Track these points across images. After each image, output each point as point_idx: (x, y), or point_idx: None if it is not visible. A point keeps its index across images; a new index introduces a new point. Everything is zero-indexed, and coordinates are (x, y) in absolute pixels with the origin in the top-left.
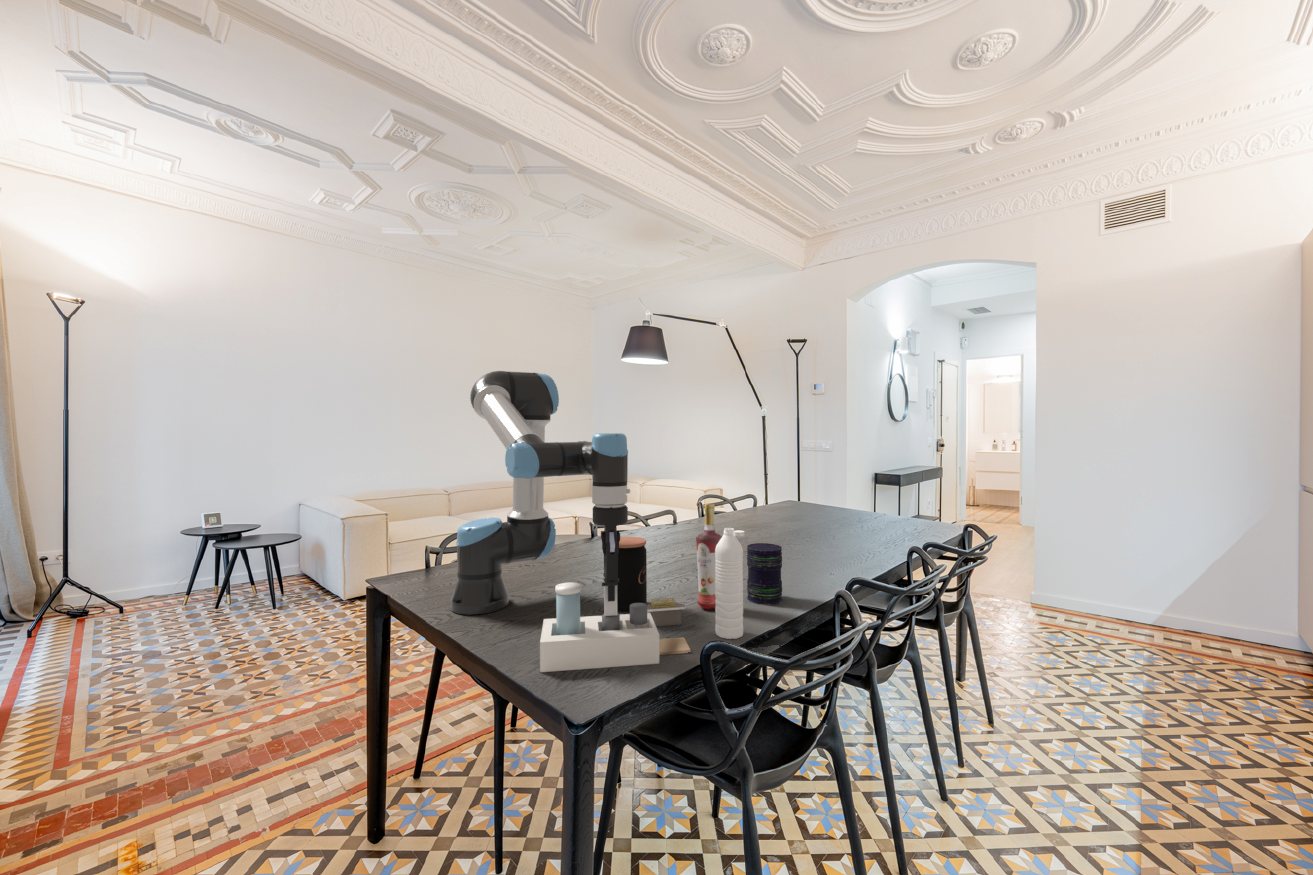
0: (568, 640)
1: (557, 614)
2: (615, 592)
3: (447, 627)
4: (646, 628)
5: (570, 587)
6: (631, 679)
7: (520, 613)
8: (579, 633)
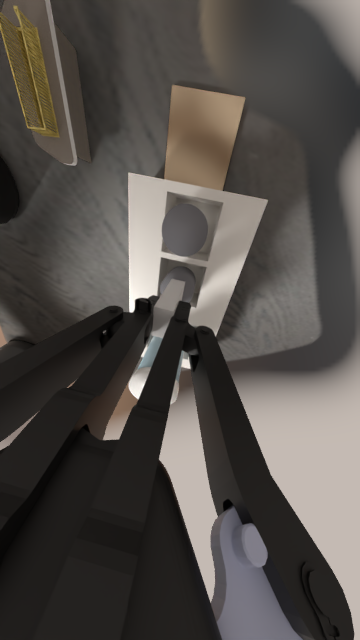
0: None
1: None
2: (176, 305)
3: None
4: (220, 219)
5: None
6: (275, 268)
7: (50, 335)
8: None
